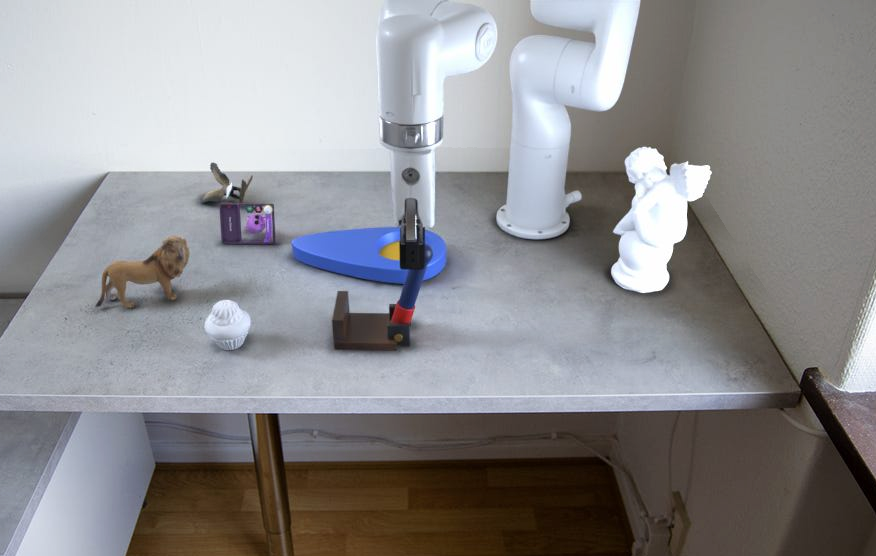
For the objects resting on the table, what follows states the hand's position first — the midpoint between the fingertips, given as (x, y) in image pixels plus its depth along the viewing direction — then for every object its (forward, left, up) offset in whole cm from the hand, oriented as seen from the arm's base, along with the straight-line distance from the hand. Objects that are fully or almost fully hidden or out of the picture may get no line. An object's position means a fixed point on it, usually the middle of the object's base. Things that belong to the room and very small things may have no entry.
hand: (412, 260), depth 101 cm
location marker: (-5, -20, -13) cm, 24 cm away
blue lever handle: (-1, +1, -5) cm, 5 cm away
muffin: (+22, -13, -13) cm, 28 cm away
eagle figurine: (+5, -53, -13) cm, 55 cm away
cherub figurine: (-38, +10, -13) cm, 42 cm away
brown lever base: (+4, -3, -12) cm, 14 cm away
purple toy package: (+7, -38, -13) cm, 41 cm away
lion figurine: (+27, -31, -13) cm, 43 cm away
